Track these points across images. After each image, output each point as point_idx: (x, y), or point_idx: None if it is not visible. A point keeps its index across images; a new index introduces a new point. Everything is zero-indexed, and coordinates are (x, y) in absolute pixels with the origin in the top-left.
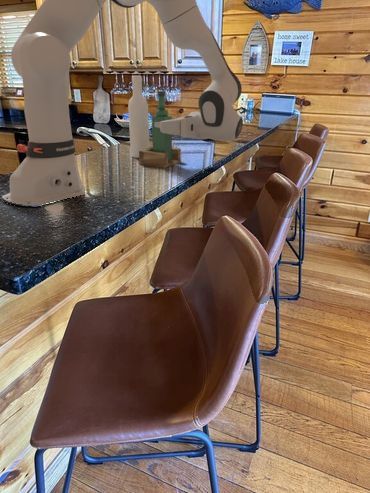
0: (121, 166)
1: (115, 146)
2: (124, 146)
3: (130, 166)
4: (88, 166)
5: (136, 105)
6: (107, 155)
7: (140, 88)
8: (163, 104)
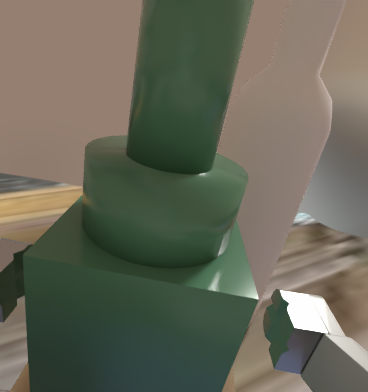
0: (17, 302)
1: None
2: (292, 236)
3: (16, 333)
4: (20, 230)
5: (239, 108)
6: None
7: (310, 24)
8: (154, 77)
